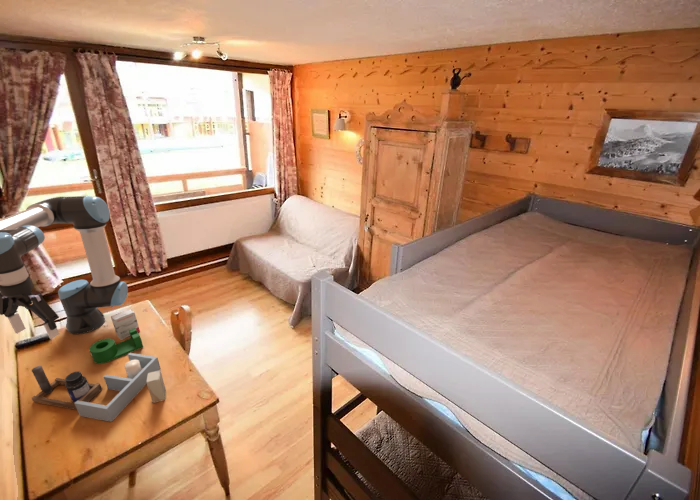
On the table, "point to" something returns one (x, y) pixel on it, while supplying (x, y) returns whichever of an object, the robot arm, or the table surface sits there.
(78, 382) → the pill bottle
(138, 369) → the cream canister
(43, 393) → the wooden frame with peg
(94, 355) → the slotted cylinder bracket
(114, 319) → the ink box
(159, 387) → the box
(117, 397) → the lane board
